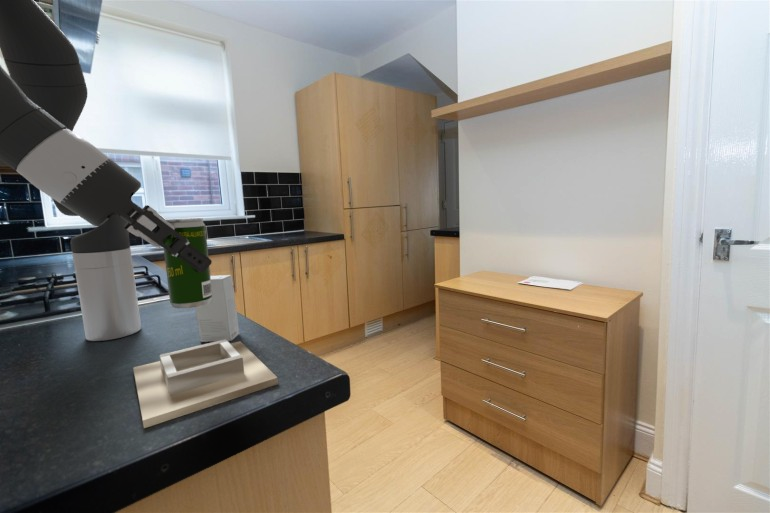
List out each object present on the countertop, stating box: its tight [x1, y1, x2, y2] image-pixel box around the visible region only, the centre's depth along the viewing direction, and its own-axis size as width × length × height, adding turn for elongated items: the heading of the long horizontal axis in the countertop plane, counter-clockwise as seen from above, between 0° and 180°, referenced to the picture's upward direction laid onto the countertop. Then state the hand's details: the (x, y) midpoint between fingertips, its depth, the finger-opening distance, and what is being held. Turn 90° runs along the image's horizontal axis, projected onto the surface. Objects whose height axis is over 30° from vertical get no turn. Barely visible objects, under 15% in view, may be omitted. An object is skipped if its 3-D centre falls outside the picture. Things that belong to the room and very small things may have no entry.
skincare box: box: [194, 274, 240, 343], centre depth 70 cm, size 6×4×12 cm
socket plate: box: [132, 339, 279, 429], centre depth 54 cm, size 18×16×4 cm
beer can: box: [163, 217, 212, 309], centre depth 52 cm, size 5×5×12 cm
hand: (202, 264), depth 53 cm, fingers closed on beer can, 5 cm apart
